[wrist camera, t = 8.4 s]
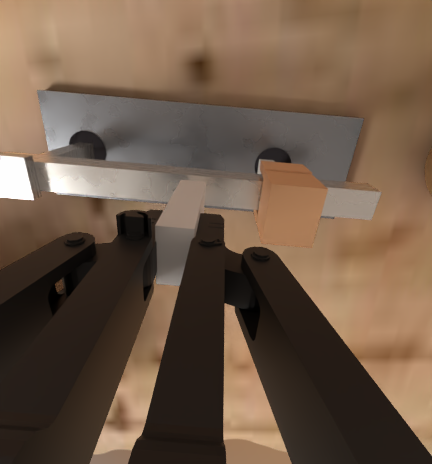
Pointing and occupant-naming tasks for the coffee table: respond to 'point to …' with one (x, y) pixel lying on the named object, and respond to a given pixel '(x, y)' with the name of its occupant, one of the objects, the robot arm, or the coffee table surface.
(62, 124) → the flange plate
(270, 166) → the block
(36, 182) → the bar
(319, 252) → the coffee table surface
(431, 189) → the vase
